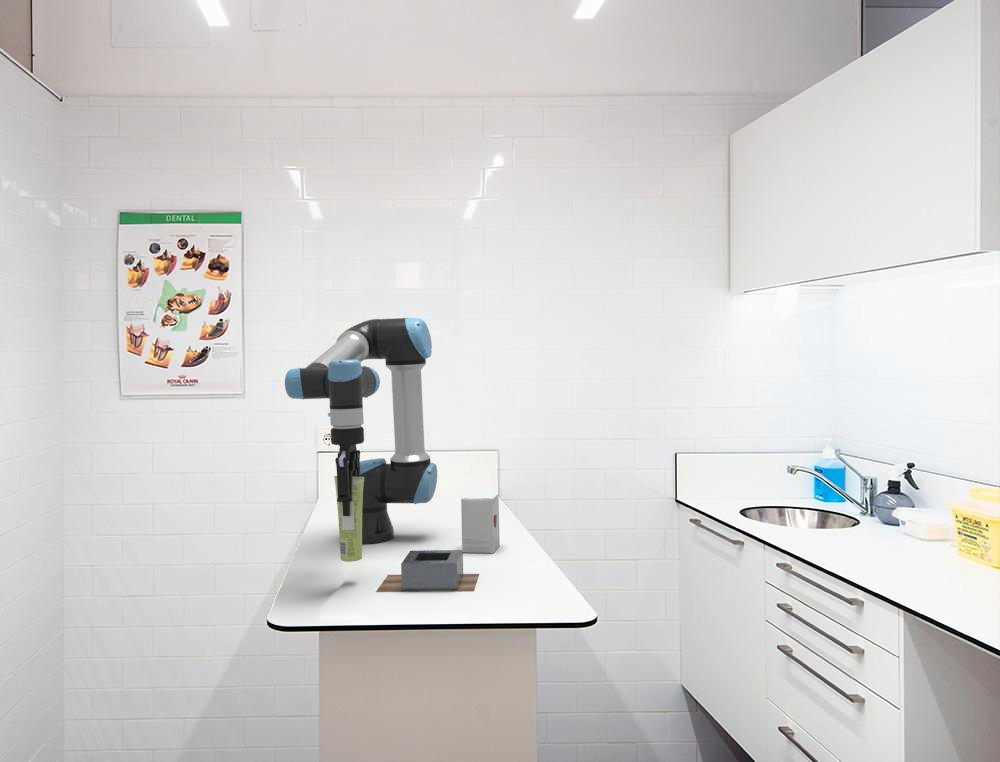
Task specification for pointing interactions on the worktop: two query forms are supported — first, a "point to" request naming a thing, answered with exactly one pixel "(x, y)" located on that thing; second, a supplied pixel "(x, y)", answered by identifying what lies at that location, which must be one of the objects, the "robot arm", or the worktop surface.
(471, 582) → the base plate
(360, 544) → the tube
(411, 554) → the collar
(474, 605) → the worktop surface
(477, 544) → the supplement box
